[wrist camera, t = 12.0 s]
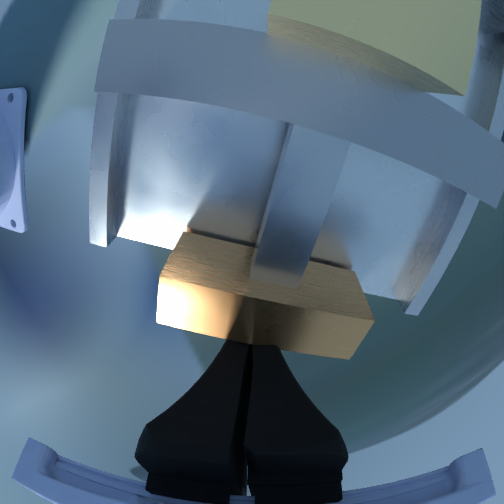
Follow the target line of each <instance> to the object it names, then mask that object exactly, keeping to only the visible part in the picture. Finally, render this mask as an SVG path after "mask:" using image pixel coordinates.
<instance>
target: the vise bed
mask: <svg viewBox="0 0 504 504" xmlns="http://www.w3.org/2000/svg"><path fill="white" fill-rule="evenodd" d="M271 1H272V0H119V3H118V6H117V10H116V13H115V17H114V20H117V19H164V20H182V21H194V22H203V23H212V24H219V25H226V26H233V27H239V28H244V29H250V30H255V31H260V32H264V33H267V29H268V11H269V8H270V4H271ZM426 93H428V94H430V95H432V96H434V97H435V98H437V99H439V100H441V101H442V102H444V103H446V104H447V105H449V106H451V107H452V108H454V109H456V110H457V111H459V112H460V113H462V114H463V115H465V116H467V117H468V118H470V119H471V120H473V121H474V122H476V123H477V124H478V125H480V126H481V127H483V128H484V129H486V130H487V131H488V132H490V133H491V134H492V135H494V136H495V137H496V138H498V139H499V140H500V141H501V138H502V135H503V131H504V0H482V2H481V13H480V22H479V29H478V36H477V42H476V48H475V54H474V59H473V64H472V69H471V74H470V78H469V83H468V87H467V91H466V95H465V96H458V95H450V94H440V93H429V92H426ZM289 125H290V123H288V122H285V121H281V120H277V119H273V118H269V117H265V116H261V115H257V114H253V113H248V112H244V111H239V110H235V109H230V108H225V107H220V106H215V105H209V104H204V103H198V102H192V101H186V100H179V99H172V98H165V97H156V96H148V95H138V94H127V93H114V92H98V95H97V102H96V109H95V117H94V126H93V136H92V148H91V163H90V187H89V228H90V243H92V244H96V245H99V246H103V247H108V245H109V244H110V243H111V242H112V241H113V240H114V239H115V237H116V236H120V237H124V238H128V239H132V240H136V241H140V242H144V243H148V244H152V245H156V246H161V247H165V248H169V249H174V247H175V245H176V244H177V242H178V240H179V238H180V236H181V234H182V233H183V231H185V232H189V233H193V234H198V235H202V236H206V237H211V238H215V239H219V240H224V241H228V242H232V243H236V244H241V245H245V246H249V247H254V248H255V245H256V241H257V238H258V234H259V231H260V227H261V224H262V220H263V217H264V213H265V210H266V206H267V203H268V199H269V195H270V192H271V188H272V185H273V181H274V178H275V174H276V171H277V167H278V164H279V160H280V156H281V153H282V149H283V146H284V142H285V139H286V135H287V132H288V128H289ZM479 200H480V199H478V198H476V197H474V196H472V195H470V194H469V193H467V192H465V191H463V190H461V189H459V188H457V187H455V186H453V185H451V184H449V183H447V182H445V181H443V180H441V179H439V178H437V177H435V176H433V175H431V174H428V173H426V172H424V171H422V170H420V169H417V168H415V167H413V166H411V165H408V164H406V163H404V162H401V161H399V160H396V159H394V158H392V157H389V156H387V155H384V154H382V153H379V152H377V151H374V150H371V149H369V148H366V147H363V146H361V145H358V144H355V143H352V142H351V144H350V147H349V150H348V153H347V157H346V160H345V162H344V165H343V168H342V171H341V174H340V177H339V180H338V183H337V186H336V189H335V192H334V194H333V197H332V200H331V203H330V206H329V208H328V211H327V214H326V217H325V219H324V222H323V225H322V227H321V230H320V233H319V235H318V238H317V241H316V243H315V246H314V248H313V251H312V254H311V256H310V259H309V261H313V262H317V263H322V264H326V265H330V266H334V267H338V268H343V269H347V270H351V271H355V273H356V275H357V278H358V280H359V283H360V285H361V287H362V290H363V292H364V293H368V294H373V295H378V296H383V297H387V298H392V299H397V300H398V302H399V304H400V305H401V307H402V309H403V311H404V313H405V314H410V315H416V316H418V314H419V313H420V311H421V310H422V308H423V306H424V305H425V303H426V302H427V300H428V298H429V297H430V295H431V294H432V292H433V290H434V289H435V287H436V285H437V284H438V282H439V280H440V278H441V277H442V275H443V273H444V271H445V270H446V268H447V266H448V264H449V262H450V261H451V259H452V257H453V255H454V253H455V251H456V249H457V247H458V245H459V243H460V241H461V239H462V237H463V235H464V233H465V231H466V229H467V227H468V225H469V223H470V220H471V218H472V216H473V214H474V211H475V209H476V207H477V205H478V202H479Z"/></svg>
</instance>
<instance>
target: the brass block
mask: <svg viewBox="0 0 504 504" xmlns="http://www.w3.org/2000/svg"><path fill="white" fill-rule="evenodd" d="M481 2H482V0H272V1H271V4H270V8H269V11H268V29H267V34H270V35H274V36H279V37H283V38H287V39H290V40H294V41H298V42H301V43H305V44H308V45H312V46H315V47H318V48H321V49H324V50H328V51H331V52H333V53H336V54H339V55H342V56H345V57H348V58H350V59H353V60H355V61H358V62H361V63H363V64H366V65H368V66H370V67H373V68H375V69H377V70H380V71H382V72H384V73H387V74H389V75H391V76H393V77H395V78H397V79H399V80H402V81H404V82H406V83H408V84H410V85H412V86H414V87H416V88H417V89H419V90H421V91H423V92H429V93H440V94H450V95H458V96H465V95H466V91H467V87H468V83H469V78H470V74H471V69H472V64H473V59H474V54H475V48H476V42H477V36H478V29H479V22H480V13H481Z"/></svg>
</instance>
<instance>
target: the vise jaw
mask: <svg viewBox="0 0 504 504" xmlns="http://www.w3.org/2000/svg"><path fill="white" fill-rule="evenodd" d="M94 91H96V92H114V93H127V94H138V95H148V96H156V97H165V98H172V99H179V100H186V101H192V102H198V103H204V104H209V105H215V106H220V107H225V108H230V109H235V110H239V111H244V112H248V113H253V114H257V115H261V116H265V117H269V118H273V119H277V120H281V121H285V122H288V123H290V125H289V128H288V132H287V135H286V139H285V142H284V146H283V149H282V153H281V156H280V160H279V164H278V167H277V171H276V174H275V178H274V181H273V185H272V188H271V192H270V195H269V199H268V203H267V206H266V210H265V213H264V217H263V220H262V224H261V227H260V231H259V234H258V238H257V241H256V245H255V248H254V247H249V246H245V245H241V244H236V243H232V242H228V241H224V240H219V239H215V238H211V237H206V236H202V235H198V234H193V233H189V232H185V231H183V233H182V234H181V236H180V238H179V240H178V242H177V244H176V245H175V247H174V249H173V251H172V253H171V255H170V257H169V258H168V260H167V262H166V264H165V266H164V268H163V270H162V272H161V274H160V276H159V291H158V307H157V323H161V324H165V325H169V326H172V327H176V328H180V329H184V330H188V331H193V332H197V333H201V334H205V335H210V336H214V337H219V338H223V339H228V340H233V341H238V342H243V343H248V344H253V345H277V346H278V347H279V349H280V350H286V351H292V352H299V353H305V354H312V355H319V356H326V357H334V358H342V359H350V358H351V356H352V355H353V354H354V352H355V351H356V349H357V348H358V346H359V345H360V343H361V342H362V340H363V339H364V337H365V335H366V334H367V332H368V331H369V329H370V328H371V326H372V325H373V323H374V321H375V320H374V318H373V315H372V312H371V310H370V307H369V305H368V302H367V300H366V297H365V295H364V292H363V290H362V287H361V285H360V283H359V280H358V278H357V275H356V273H355V271H351V270H347V269H343V268H338V267H334V266H330V265H326V264H322V263H317V262H313V261H309V259H310V256H311V254H312V251H313V248H314V246H315V243H316V241H317V238H318V235H319V233H320V230H321V227H322V225H323V222H324V219H325V217H326V214H327V211H328V208H329V206H330V203H331V200H332V197H333V194H334V192H335V189H336V186H337V183H338V180H339V177H340V174H341V171H342V168H343V165H344V162H345V160H346V157H347V153H348V150H349V147H350V144H351V142H352V143H355V144H358V145H361V146H363V147H366V148H369V149H371V150H374V151H377V152H379V153H382V154H384V155H387V156H389V157H392V158H394V159H396V160H399V161H401V162H404V163H406V164H408V165H411V166H413V167H415V168H417V169H420V170H422V171H424V172H426V173H428V174H431V175H433V176H435V177H437V178H439V179H441V180H443V181H445V182H447V183H449V184H451V185H453V186H455V187H457V188H459V189H461V190H463V191H465V192H467V193H469V194H470V195H472V196H474V197H476V198H478V199H480V200H481V201H483V202H485V203H487V204H488V205H490V206H492V207H494V208H495V209H496V208H497V206H498V203H499V201H500V198H501V196H502V193H503V191H504V143H503V142H502V141H500V140H499V139H498V138H496V137H495V136H494V135H492V134H491V133H490V132H488V131H487V130H486V129H484V128H483V127H481V126H480V125H478V124H477V123H476V122H474V121H473V120H471V119H470V118H468V117H467V116H465V115H463V114H462V113H460V112H459V111H457V110H456V109H454V108H452V107H451V106H449V105H447V104H446V103H444V102H442V101H441V100H439V99H437V98H435V97H434V96H432V95H430V94H428V93H426V92H423V91H421V90H419V89H417V88H416V87H414V86H412V85H410V84H408V83H406V82H404V81H402V80H399V79H397V78H395V77H393V76H391V75H389V74H387V73H384V72H382V71H380V70H377V69H375V68H373V67H370V66H368V65H366V64H363V63H361V62H358V61H355V60H353V59H350V58H348V57H345V56H342V55H339V54H336V53H333V52H331V51H328V50H324V49H321V48H318V47H315V46H312V45H308V44H305V43H301V42H298V41H294V40H290V39H287V38H283V37H279V36H274V35H270V34H267V33H264V32H260V31H255V30H250V29H244V28H239V27H233V26H226V25H219V24H212V23H203V22H194V21H182V20H164V19H117V20H109V24H108V28H107V32H106V36H105V40H104V44H103V48H102V53H101V57H100V62H99V67H98V73H97V78H96V84H95V90H94Z"/></svg>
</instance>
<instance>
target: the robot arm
mask: <svg viewBox="0 0 504 504" xmlns="http://www.w3.org/2000/svg"><path fill="white" fill-rule="evenodd" d="M12 97H14V98H13V99H12ZM26 102H27V91H26V89H25V88H23V87H19V88H8V89H0V226H1V227H4V228H7V229H10V230H13V231H16V232H19V233H23V232H24V231H26V230H27V229H28V219H27V211H26V210H27V209H26V198H25V179H24V131H25V114H26ZM135 458H136V460H137V461H138V463H139V464H140V465H141V466H142V467H143V468H145V469H146V470H147V471H148V472H149V474H148V478H147V482H146V483H145V482H141V481H136V480H132V479H129V478H125V477H121V476H117V475H114V474H110V473H107V472H104V471H101V470H98V469H95V468H92V467H89V466H86V465H83V464H80V463H77V462H75V461H72V460H70V459H67V458H65V457H62V456H60V455H58V454H57V453H56V452H55V451H54V450H53V449H51V448H50V447H48V446H47V445H45V444H43V443H40V442H38V441H36V440H34V439H32V438H28V440H27V442H26V444H25V447H24V449H23V451H22V453H21V456H20V458H19V461H18V463H17V465H16V468H15V470H14V473H13V475H12V479H13V480H15V481H16V482H18V483H20V484H21V485H23V486H24V487H26V488H28V489H29V490H31V491H33V492H34V493H36V494H37V495H39V496H41V497H43V498H44V499H46V500H48V501H50V502H52V503H54V504H161V503H162V504H481V503H483V502H485V501H487V500H489V499H490V498H492V497H494V496H495V495H496V491H495V488H494V484H493V480H492V477H491V473H490V470H489V466H488V464H487V460H486V457H485V454H484V451H483V449H482V448H480V449H478V450H476V451H473V452H471V453H468V454H466V455H463V456H461V457H459V458H457V459H456V460H454V461H453V462H452V463H451V464H450V465H449V466H447V467H444V468H441V469H438V470H435V471H432V472H429V473H425V474H422V475H419V476H415V477H411V478H408V479H404V480H400V481H396V482H392V483H387V484H383V485H378V486H373V487H367V488H362V489H356V490H349V491H342V486H341V481H342V469H343V467H344V466H345V464H346V462H347V461H348V452H347V448H346V445H345V443H344V441H343V438H342V436H341V434H340V432H339V430H338V429H337V428H336V427H335V426H334V425H333V424H332V423H330V421H329V420H328V419H327V418H326V417H325V416H324V415H323V414H322V413H321V412H320V411H319V410H318V409H317V408H316V406H315V405H314V404H313V403H312V401H311V400H310V399H309V397H308V396H307V395H306V394H305V392H304V391H303V390H302V388H301V387H300V385H299V384H298V382H297V381H296V379H295V377H294V376H293V374H292V372H291V371H290V369H289V367H288V365H287V363H286V361H285V359H284V357H283V355H282V353H281V351H280V349H279V347H278V346H277V345H253V344H248V343H243V342H238V341H233V340H228V339H227V340H226V342H225V343H224V345H223V347H222V349H221V350H220V352H219V353H218V355H217V356H216V358H215V359H214V360H213V362H212V363H211V365H210V366H209V367H208V369H207V370H206V371H205V373H204V374H203V375H202V376H201V377H200V379H199V380H198V381H197V382H196V383H195V384H194V385H193V386H192V387H191V388H190V389H189V390H188V391H187V392H186V393H185V394H184V395H183V396H182V397H181V398H180V399H179V400H178V401H176V402H175V403H174V404H173V405H172V406H171V407H170V408H168V409H167V410H166V411H164V412H163V413H162V414H160V415H159V416H157V417H156V418H155V419H153V420H152V421H151V422H149V423H147V424H146V426H145V428H144V430H143V432H142V434H141V436H140V438H139V441H138V445H137V448H136V452H135ZM247 465H248V478H247ZM247 485H249V489H250V493H251V496H246V494H247V493H246V492H247ZM157 502H158V503H157Z"/></svg>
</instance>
